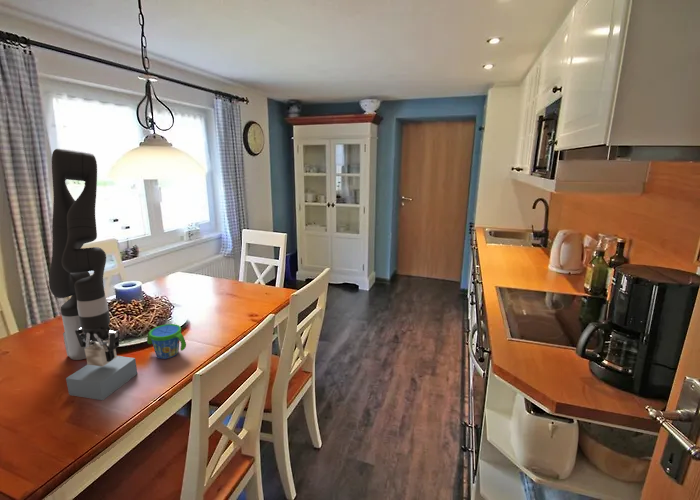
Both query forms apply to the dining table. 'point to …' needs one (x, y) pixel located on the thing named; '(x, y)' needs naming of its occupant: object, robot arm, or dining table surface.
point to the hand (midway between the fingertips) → (102, 359)
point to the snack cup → (166, 340)
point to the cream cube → (97, 355)
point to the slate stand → (101, 378)
